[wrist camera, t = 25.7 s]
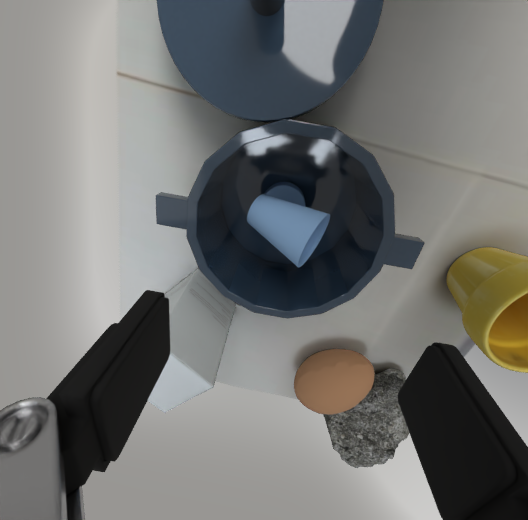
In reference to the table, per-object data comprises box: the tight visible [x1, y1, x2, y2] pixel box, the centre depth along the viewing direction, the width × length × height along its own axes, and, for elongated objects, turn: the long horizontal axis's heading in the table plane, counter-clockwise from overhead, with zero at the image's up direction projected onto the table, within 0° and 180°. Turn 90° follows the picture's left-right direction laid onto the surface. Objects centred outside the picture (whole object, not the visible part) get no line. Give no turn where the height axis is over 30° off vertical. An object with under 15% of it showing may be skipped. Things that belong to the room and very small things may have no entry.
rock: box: [323, 369, 409, 468], centre depth 39 cm, size 13×13×10 cm
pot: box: [156, 119, 425, 318], centre depth 24 cm, size 16×21×10 cm
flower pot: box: [446, 247, 528, 373], centre depth 26 cm, size 10×10×10 cm
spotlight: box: [247, 182, 330, 267], centre depth 24 cm, size 5×10×7 cm
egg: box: [294, 349, 375, 415], centre depth 35 cm, size 8×8×11 cm
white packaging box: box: [147, 269, 236, 413], centre depth 30 cm, size 7×7×13 cm
